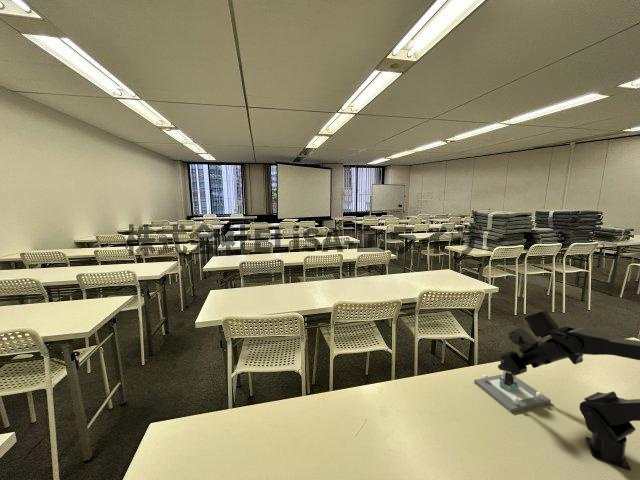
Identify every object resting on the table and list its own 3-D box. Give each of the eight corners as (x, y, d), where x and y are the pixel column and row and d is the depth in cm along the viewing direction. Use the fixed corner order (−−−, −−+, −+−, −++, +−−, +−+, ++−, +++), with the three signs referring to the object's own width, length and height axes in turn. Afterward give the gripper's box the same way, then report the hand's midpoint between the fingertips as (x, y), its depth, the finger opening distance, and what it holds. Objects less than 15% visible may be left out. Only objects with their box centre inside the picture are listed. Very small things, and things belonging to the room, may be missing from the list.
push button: (521, 387, 87) (523, 360, 86) (524, 397, 83) (526, 369, 82) (498, 381, 91) (500, 355, 89) (499, 390, 86) (501, 362, 85)
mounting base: (550, 403, 82) (551, 394, 82) (510, 412, 78) (511, 403, 78) (509, 375, 96) (510, 367, 95) (474, 382, 92) (474, 374, 92)
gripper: (547, 320, 83) (509, 336, 95) (509, 330, 77) (474, 346, 88) (575, 354, 77) (531, 367, 89) (537, 369, 71) (495, 381, 82)
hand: (507, 364), depth 87 cm, fingers open, 9 cm apart
